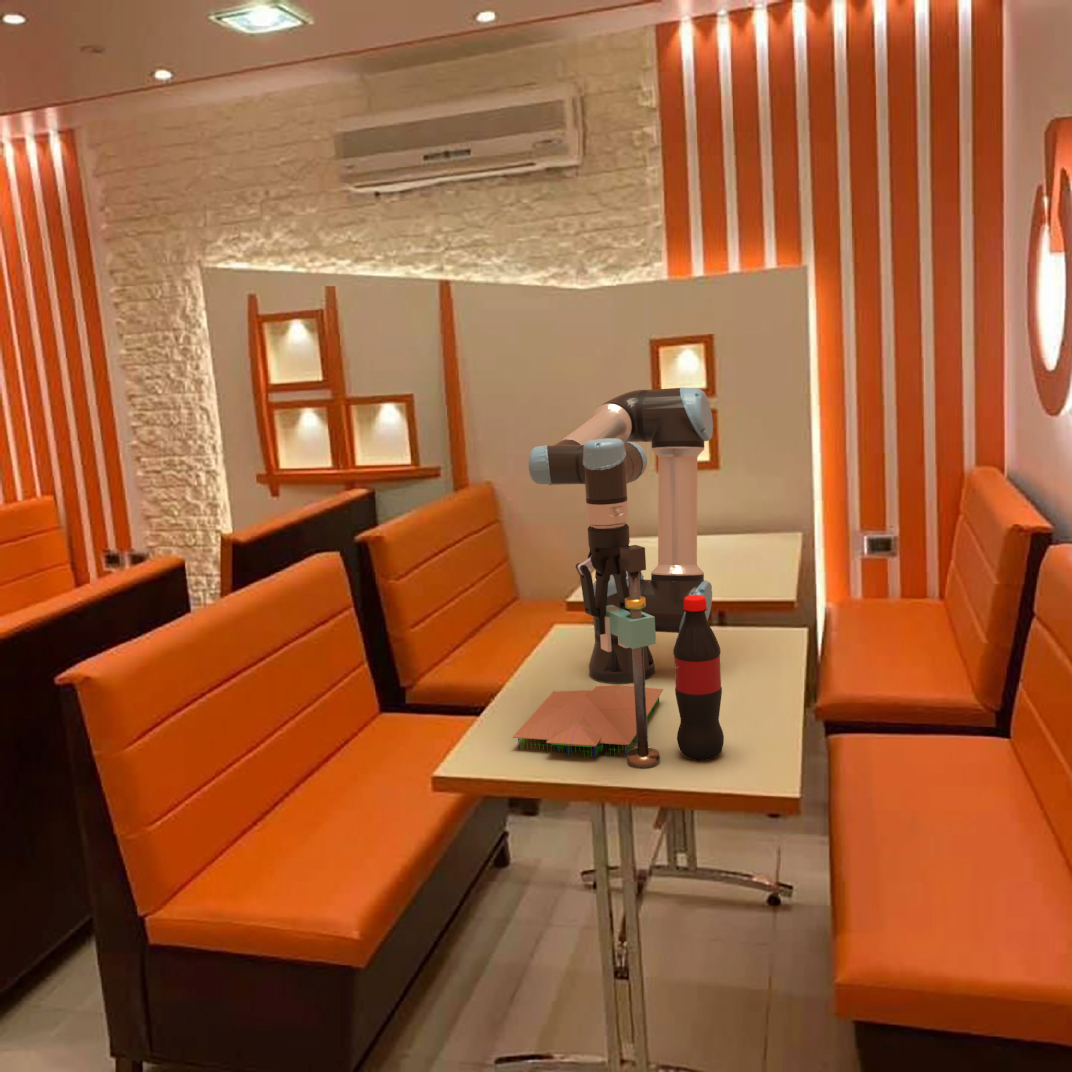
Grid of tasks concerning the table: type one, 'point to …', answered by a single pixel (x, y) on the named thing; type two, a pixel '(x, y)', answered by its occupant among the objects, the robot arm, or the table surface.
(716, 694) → the cola bottle
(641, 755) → the post stand
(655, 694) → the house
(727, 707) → the table surface
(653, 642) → the teal block with hole
